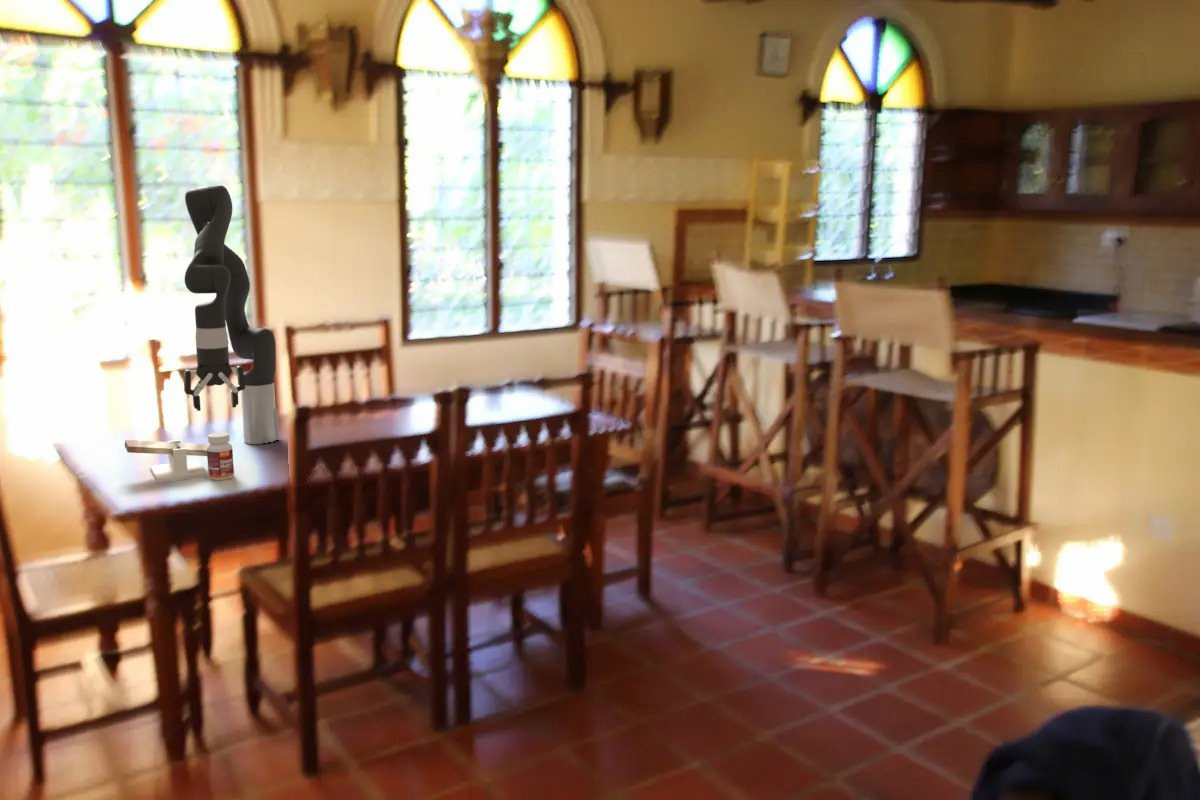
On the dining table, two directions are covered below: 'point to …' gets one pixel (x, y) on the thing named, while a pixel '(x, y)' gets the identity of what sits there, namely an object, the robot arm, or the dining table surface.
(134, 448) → the board
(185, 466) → the pivot stand
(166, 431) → the dining table surface
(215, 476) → the pill bottle
